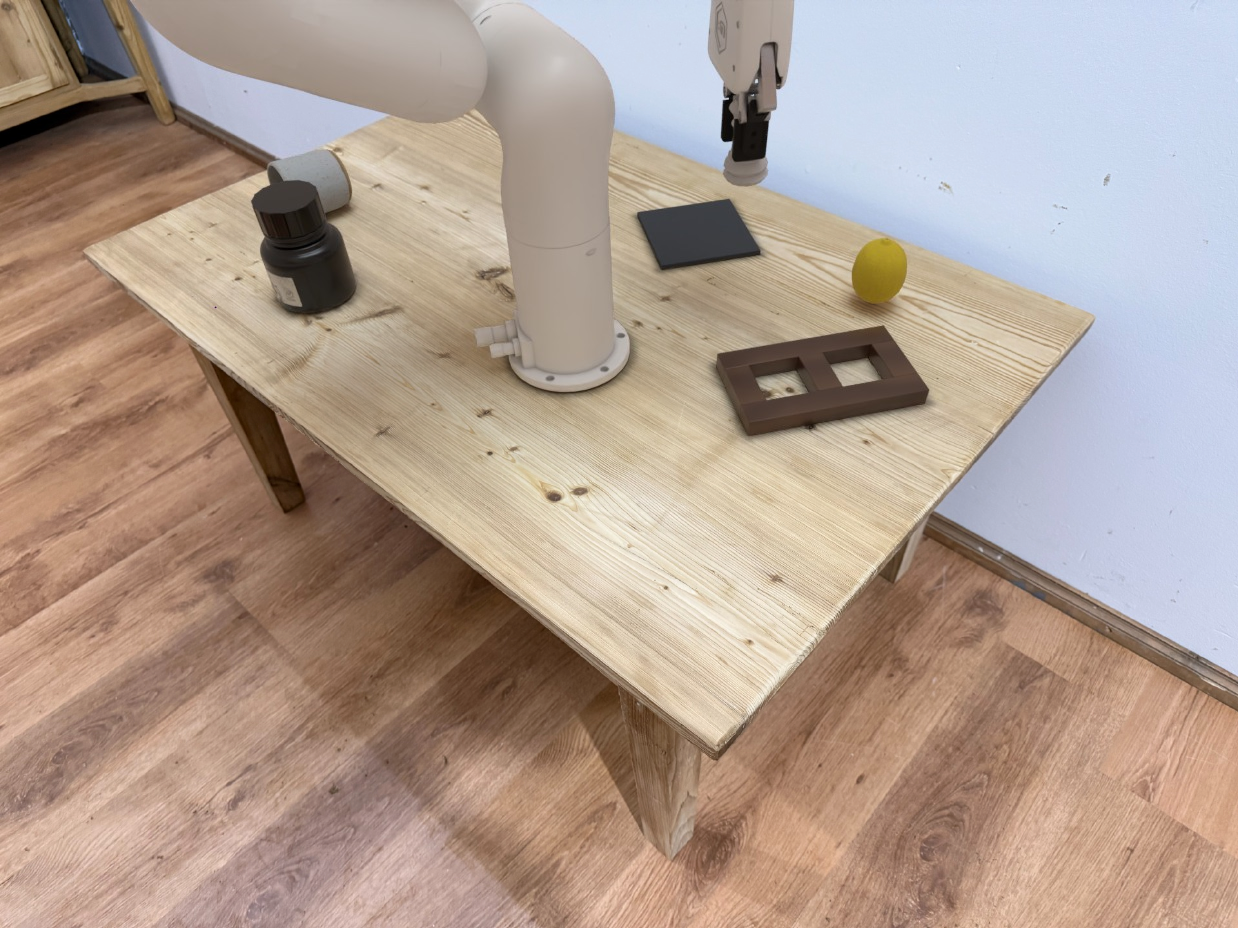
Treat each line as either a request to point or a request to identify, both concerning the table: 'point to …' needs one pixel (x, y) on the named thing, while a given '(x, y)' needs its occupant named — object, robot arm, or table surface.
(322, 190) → the ceramic mug
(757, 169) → the rook chess piece
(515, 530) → the table surface
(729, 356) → the frame
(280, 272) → the ink bottle
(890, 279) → the lemon
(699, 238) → the mat
